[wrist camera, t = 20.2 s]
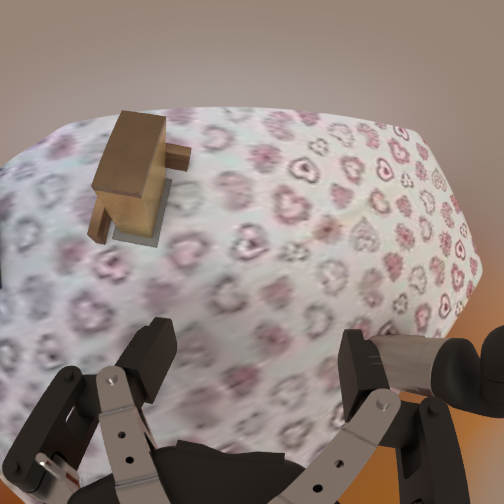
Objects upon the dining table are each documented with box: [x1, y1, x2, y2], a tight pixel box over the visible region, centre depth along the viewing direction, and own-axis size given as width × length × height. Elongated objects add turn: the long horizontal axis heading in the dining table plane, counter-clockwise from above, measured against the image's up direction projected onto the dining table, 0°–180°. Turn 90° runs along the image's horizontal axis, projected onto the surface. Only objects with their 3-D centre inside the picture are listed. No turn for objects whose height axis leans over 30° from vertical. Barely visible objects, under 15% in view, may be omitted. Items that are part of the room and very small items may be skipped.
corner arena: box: [87, 143, 191, 244], centre depth 38 cm, size 16×12×5 cm
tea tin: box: [91, 110, 166, 239], centre depth 32 cm, size 9×5×17 cm, turn 172°
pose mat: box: [112, 178, 172, 247], centre depth 40 cm, size 11×7×1 cm, turn 173°
